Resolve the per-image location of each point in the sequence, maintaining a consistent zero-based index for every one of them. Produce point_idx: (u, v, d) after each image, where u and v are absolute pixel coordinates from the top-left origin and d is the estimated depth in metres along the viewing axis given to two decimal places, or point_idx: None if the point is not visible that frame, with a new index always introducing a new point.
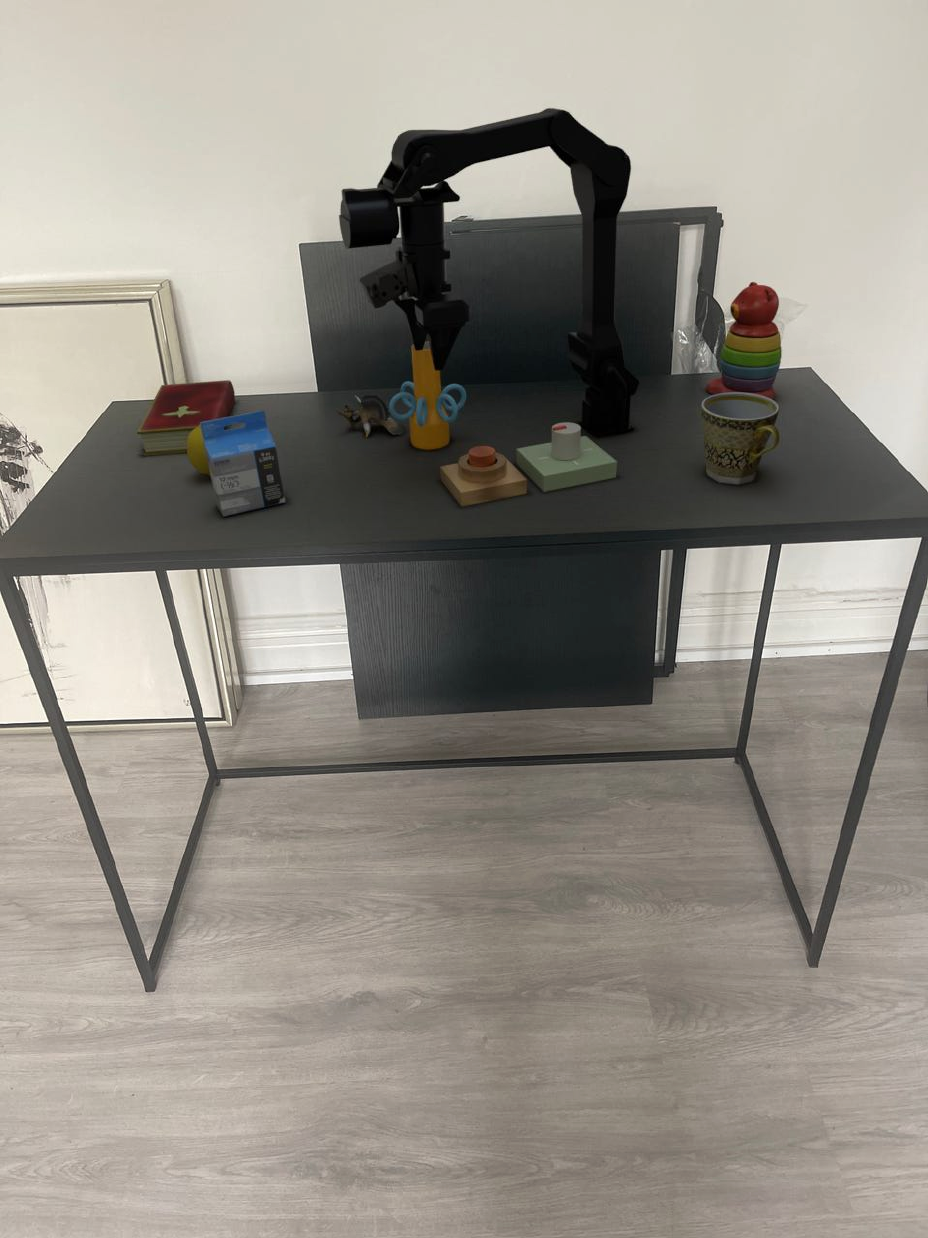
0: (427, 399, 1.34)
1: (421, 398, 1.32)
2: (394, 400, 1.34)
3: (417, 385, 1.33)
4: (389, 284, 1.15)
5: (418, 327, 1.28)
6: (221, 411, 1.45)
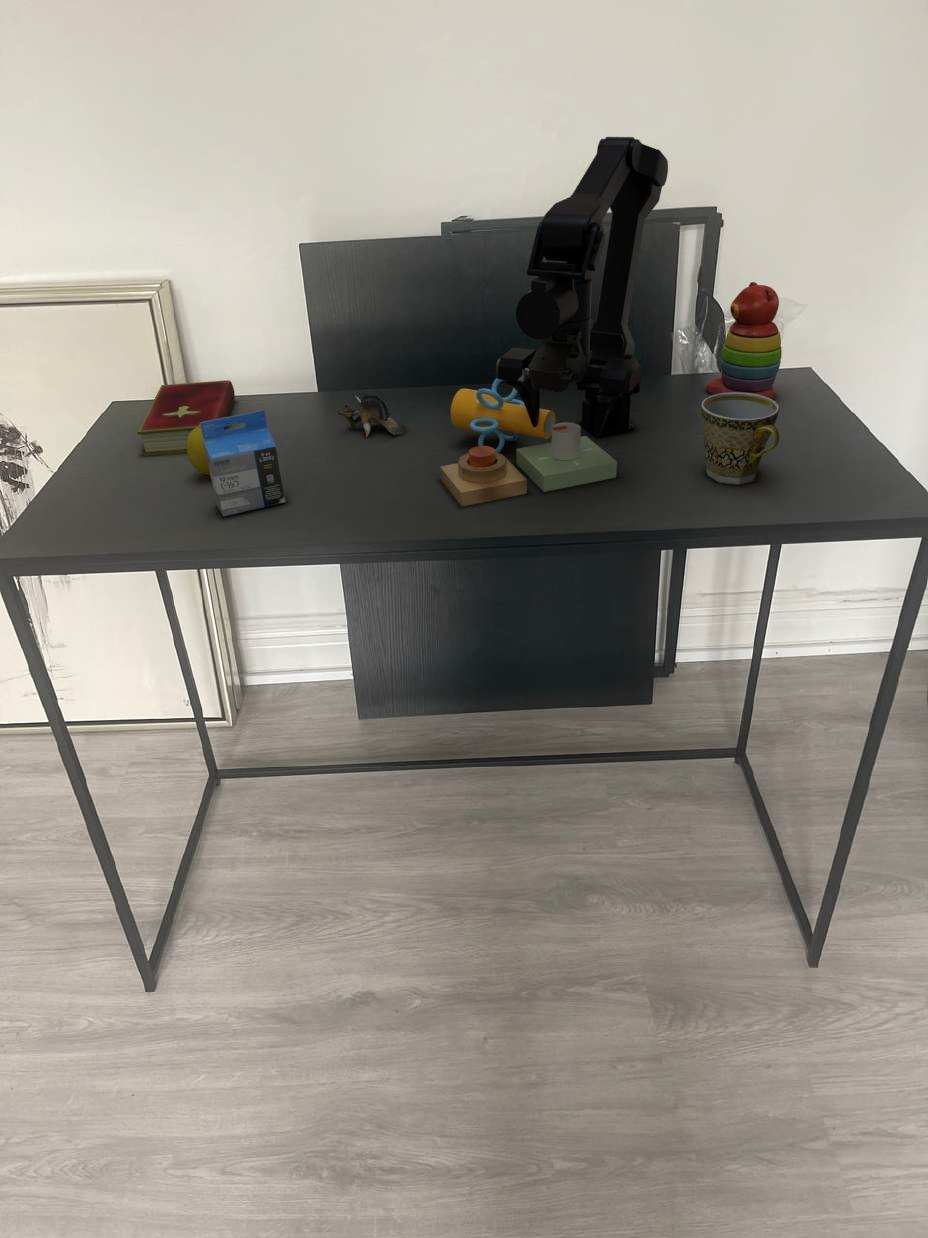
0: None
1: (496, 428, 1.30)
2: (493, 396, 1.29)
3: (510, 415, 1.31)
4: (583, 364, 1.13)
5: (535, 404, 1.26)
6: (221, 411, 1.45)
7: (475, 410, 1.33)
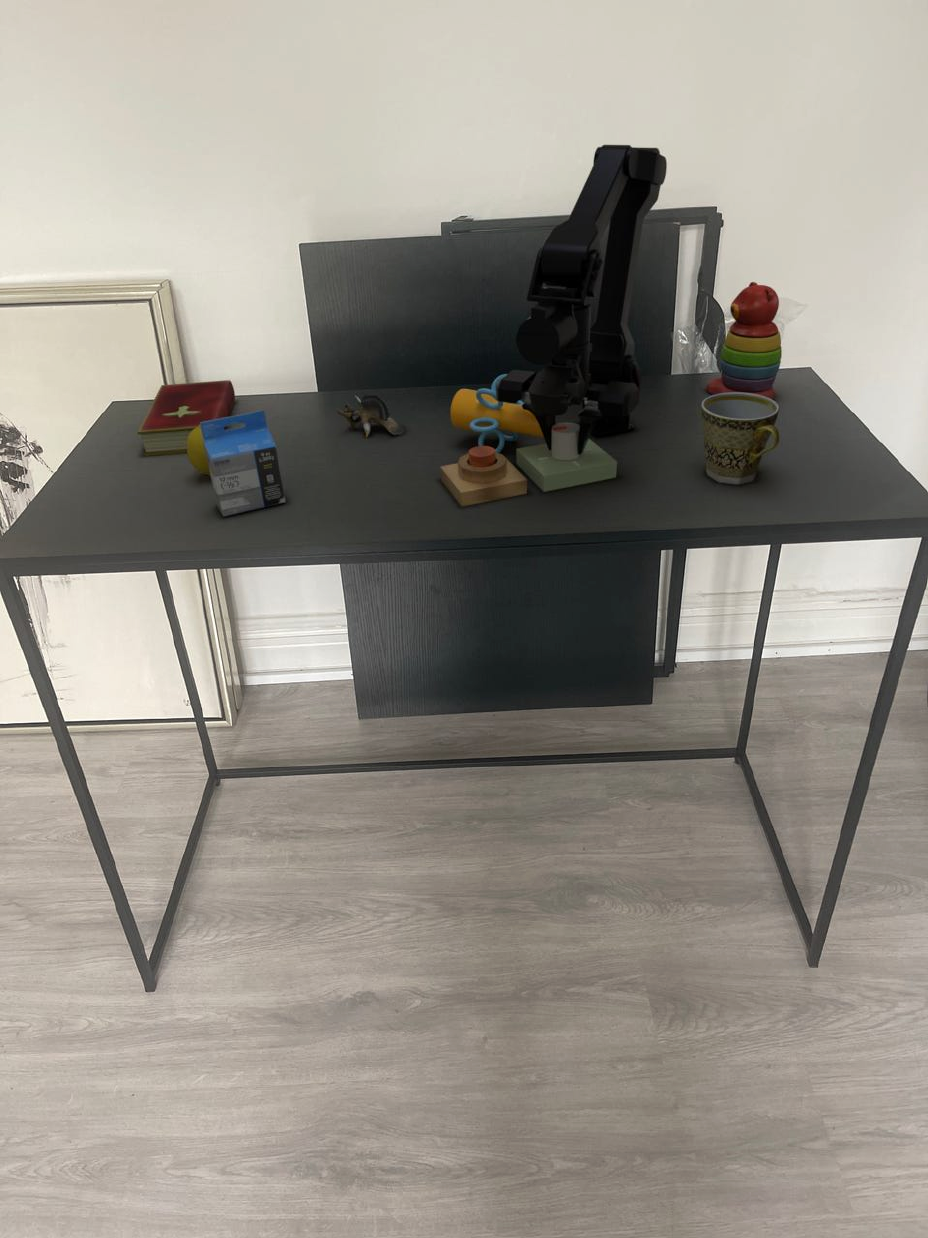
0: None
1: (496, 428, 1.30)
2: (493, 396, 1.29)
3: (510, 415, 1.31)
4: (582, 388, 1.15)
5: (551, 427, 1.27)
6: (221, 411, 1.45)
7: (475, 410, 1.33)
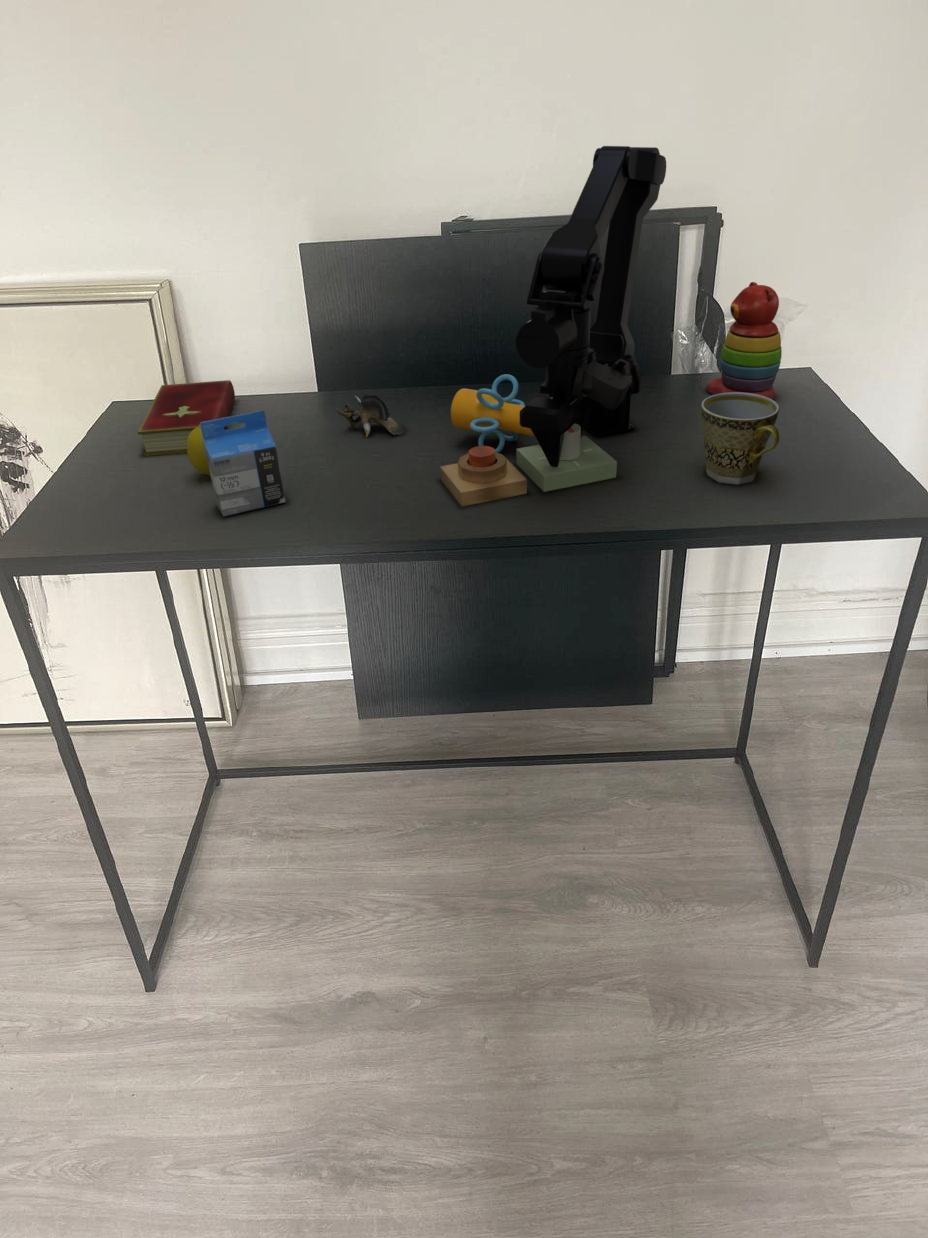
0: None
1: (496, 428, 1.30)
2: (493, 396, 1.29)
3: (510, 415, 1.31)
4: None
5: None
6: (222, 411, 1.45)
7: (475, 410, 1.33)
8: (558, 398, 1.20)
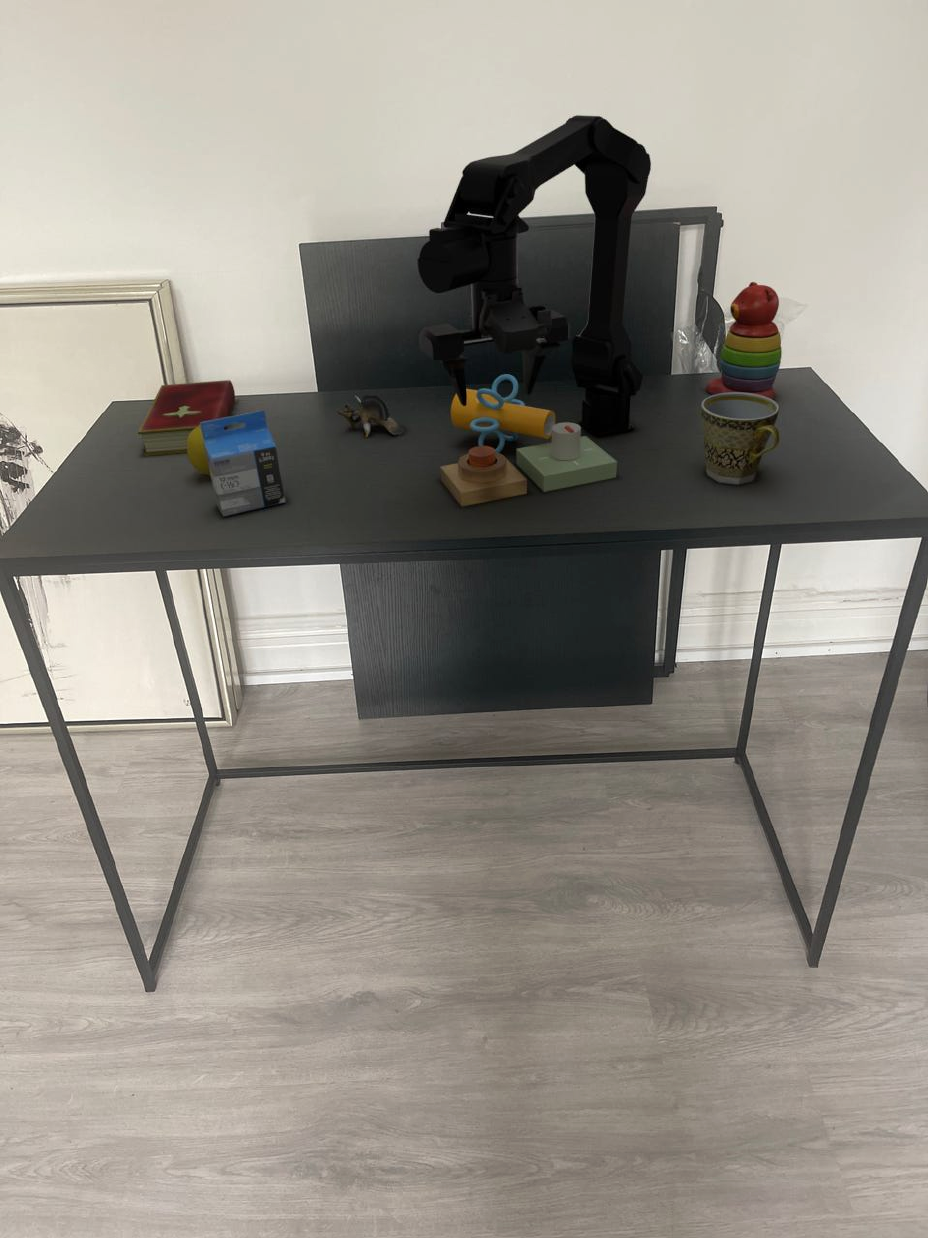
0: None
1: (496, 428, 1.30)
2: (493, 396, 1.29)
3: (510, 415, 1.31)
4: None
5: None
6: (222, 411, 1.45)
7: (475, 410, 1.33)
8: (469, 330, 1.13)
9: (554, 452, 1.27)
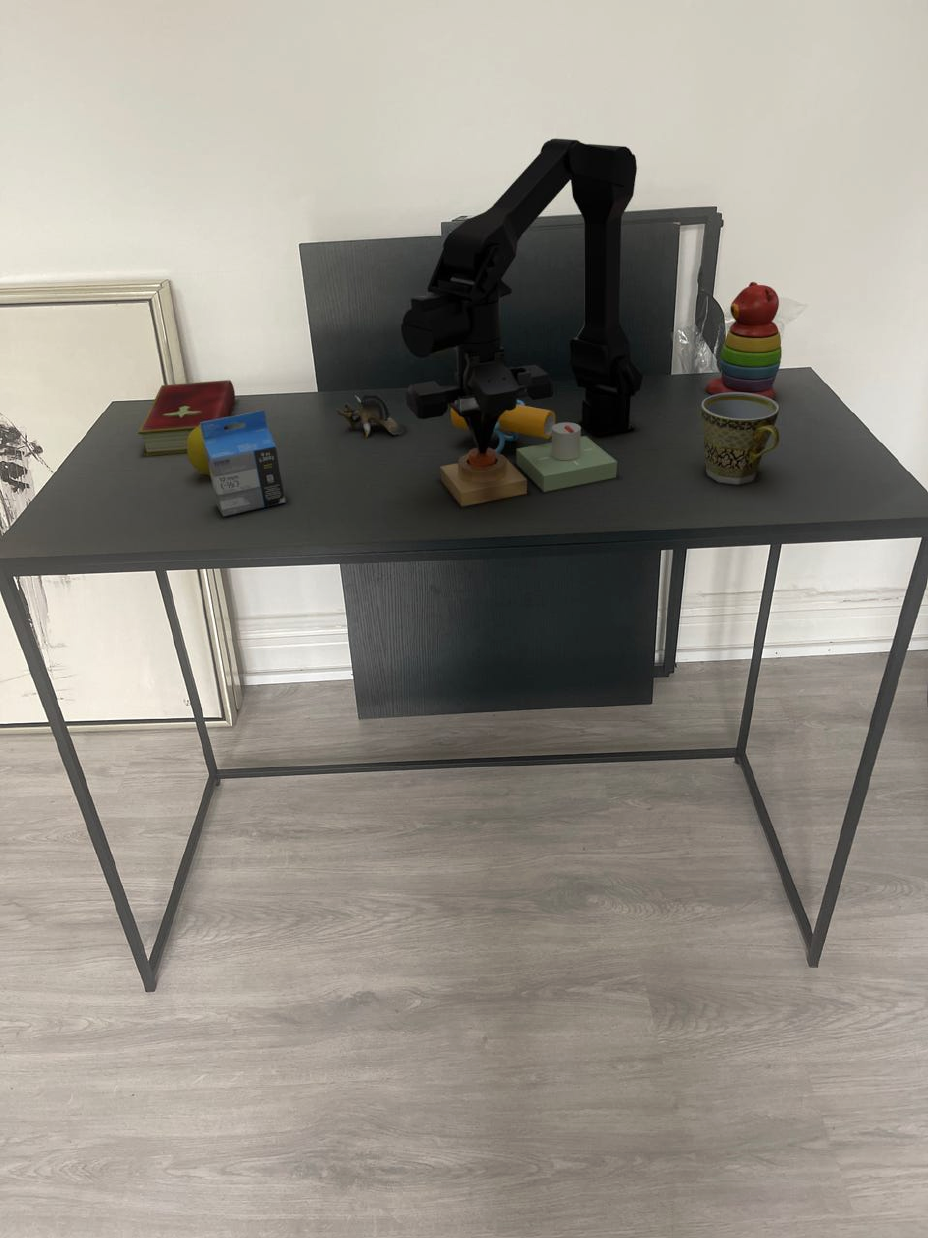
0: None
1: (496, 428, 1.30)
2: None
3: (510, 415, 1.31)
4: None
5: None
6: (222, 411, 1.45)
7: None
8: (454, 388, 1.17)
9: (554, 452, 1.27)
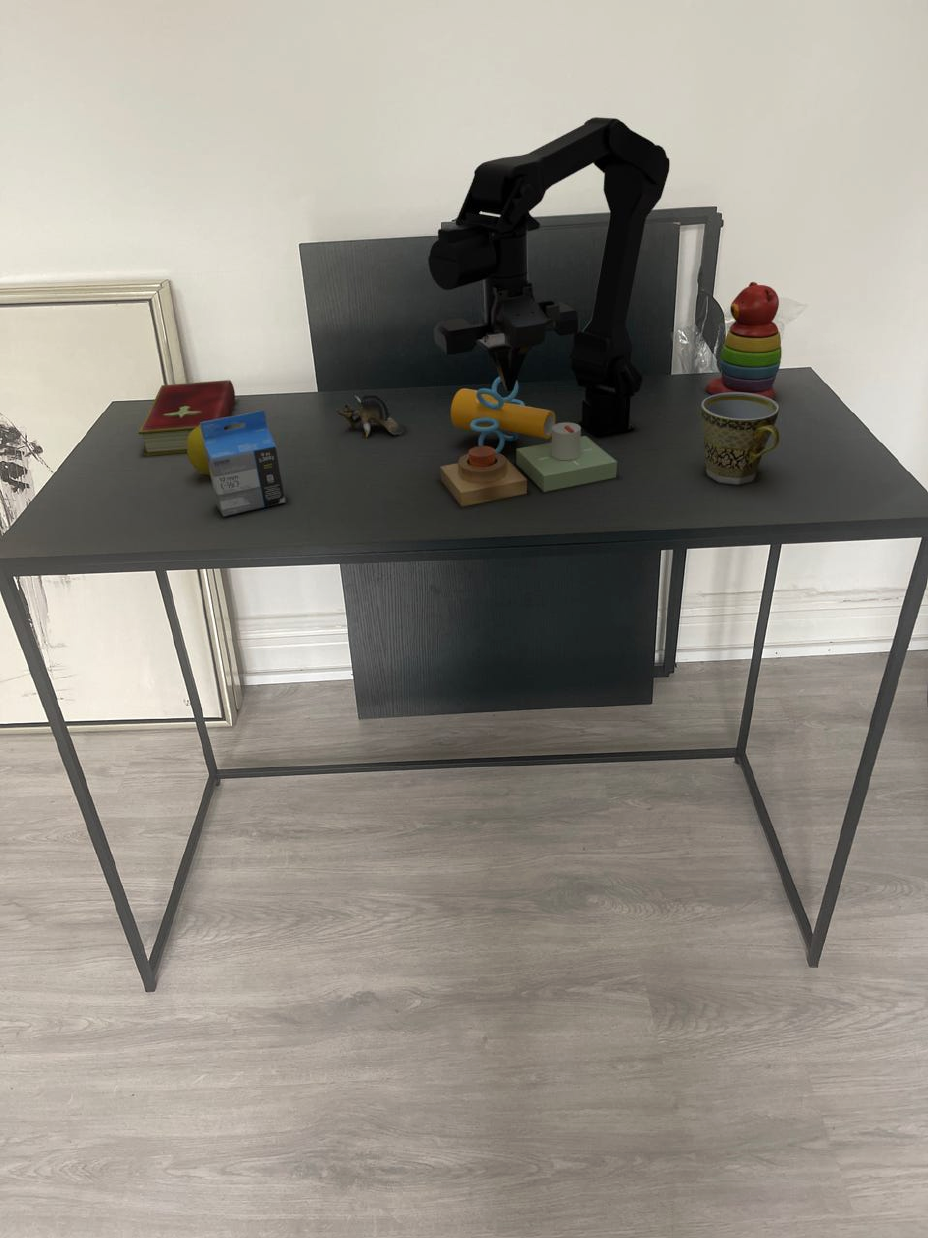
0: None
1: (496, 428, 1.30)
2: (493, 396, 1.29)
3: (510, 415, 1.31)
4: None
5: None
6: (222, 411, 1.45)
7: (475, 410, 1.33)
8: (482, 325, 1.18)
9: (554, 452, 1.27)
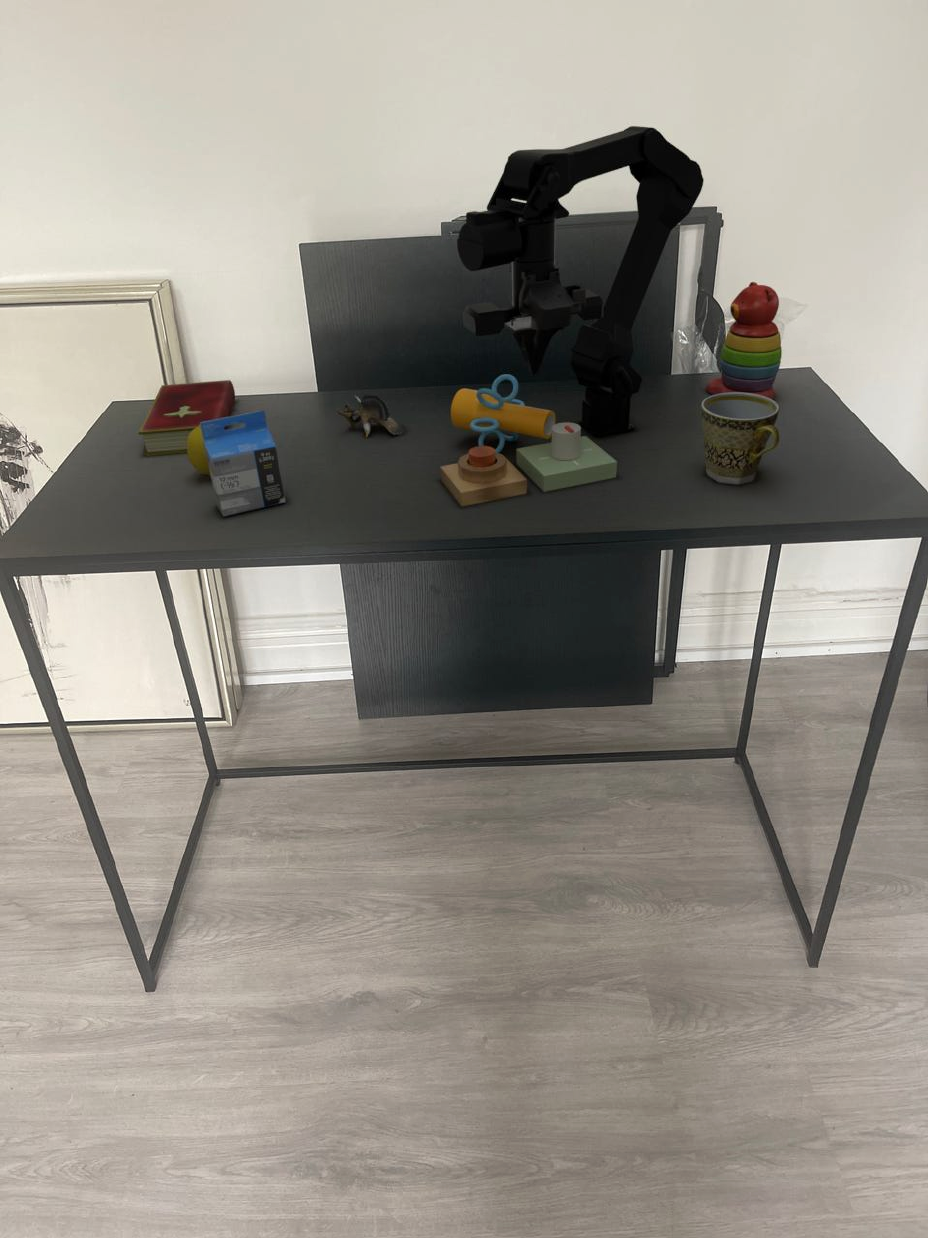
0: None
1: (496, 428, 1.30)
2: (493, 396, 1.29)
3: (510, 415, 1.31)
4: None
5: None
6: (222, 411, 1.45)
7: (475, 410, 1.33)
8: (510, 308, 1.22)
9: (554, 452, 1.27)
